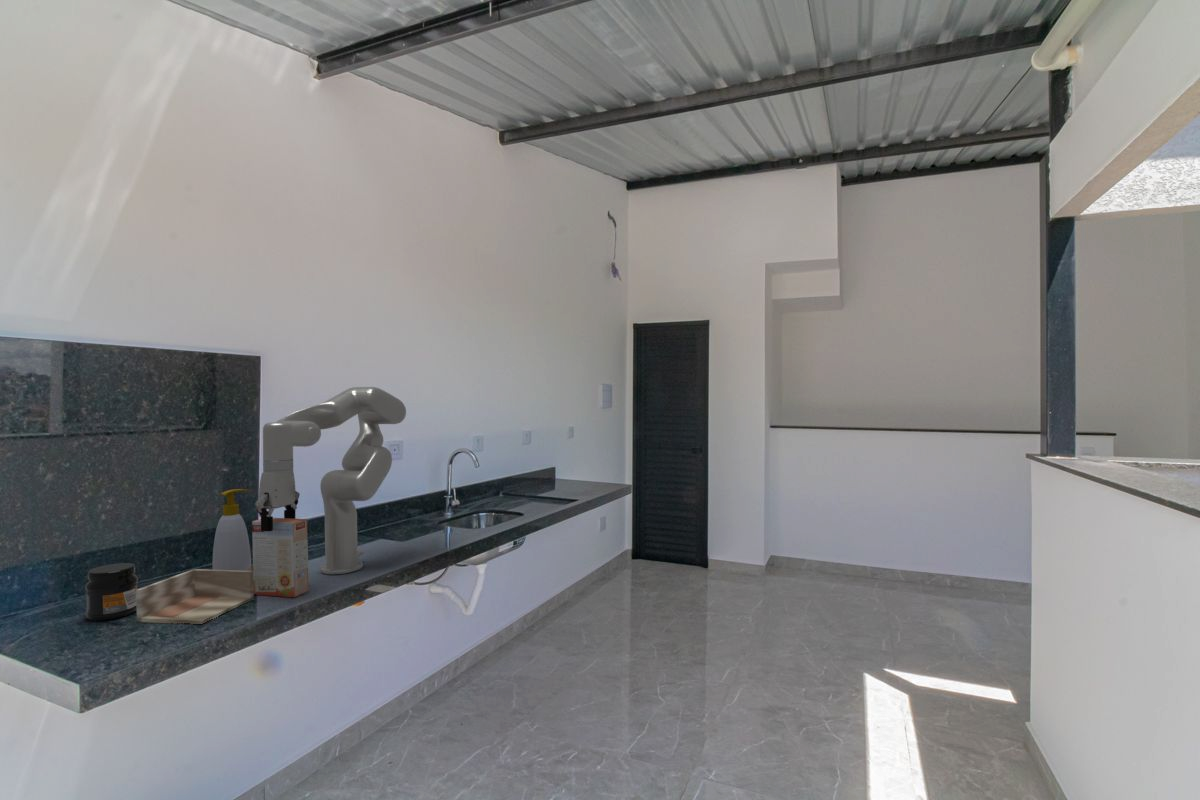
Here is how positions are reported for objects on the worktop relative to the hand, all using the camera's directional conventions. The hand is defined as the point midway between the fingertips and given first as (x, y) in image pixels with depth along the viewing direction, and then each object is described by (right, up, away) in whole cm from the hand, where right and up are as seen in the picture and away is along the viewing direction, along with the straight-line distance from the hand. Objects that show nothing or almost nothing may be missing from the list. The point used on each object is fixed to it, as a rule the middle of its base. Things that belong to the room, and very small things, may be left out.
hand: (278, 527), depth 173 cm
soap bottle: (-25, -19, +21) cm, 38 cm away
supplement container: (-35, -20, -14) cm, 43 cm away
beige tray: (-15, -19, -12) cm, 27 cm away
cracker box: (0, -19, +1) cm, 19 cm away
